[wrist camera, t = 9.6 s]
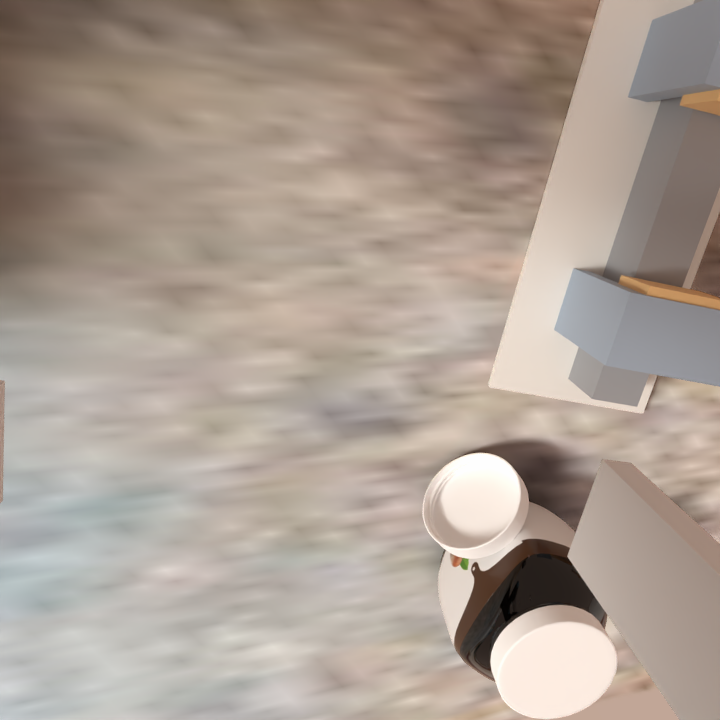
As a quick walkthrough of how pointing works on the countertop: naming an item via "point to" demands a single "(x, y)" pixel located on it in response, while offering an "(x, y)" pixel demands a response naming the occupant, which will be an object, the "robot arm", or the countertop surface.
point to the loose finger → (643, 326)
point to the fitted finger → (682, 58)
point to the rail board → (611, 212)
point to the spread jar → (516, 591)
